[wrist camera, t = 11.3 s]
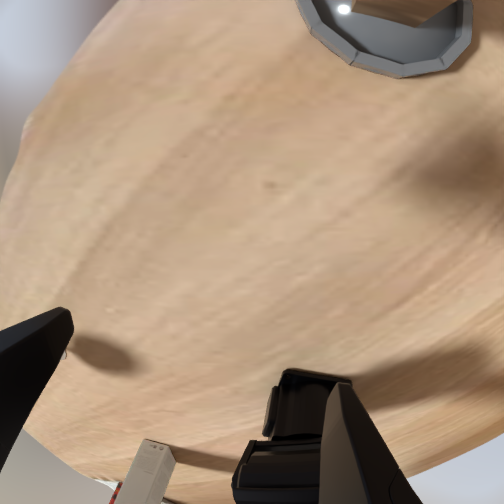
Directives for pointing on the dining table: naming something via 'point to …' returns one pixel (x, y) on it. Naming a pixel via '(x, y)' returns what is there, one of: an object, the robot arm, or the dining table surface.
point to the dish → (390, 37)
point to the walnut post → (401, 9)
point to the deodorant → (116, 493)
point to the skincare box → (147, 475)
